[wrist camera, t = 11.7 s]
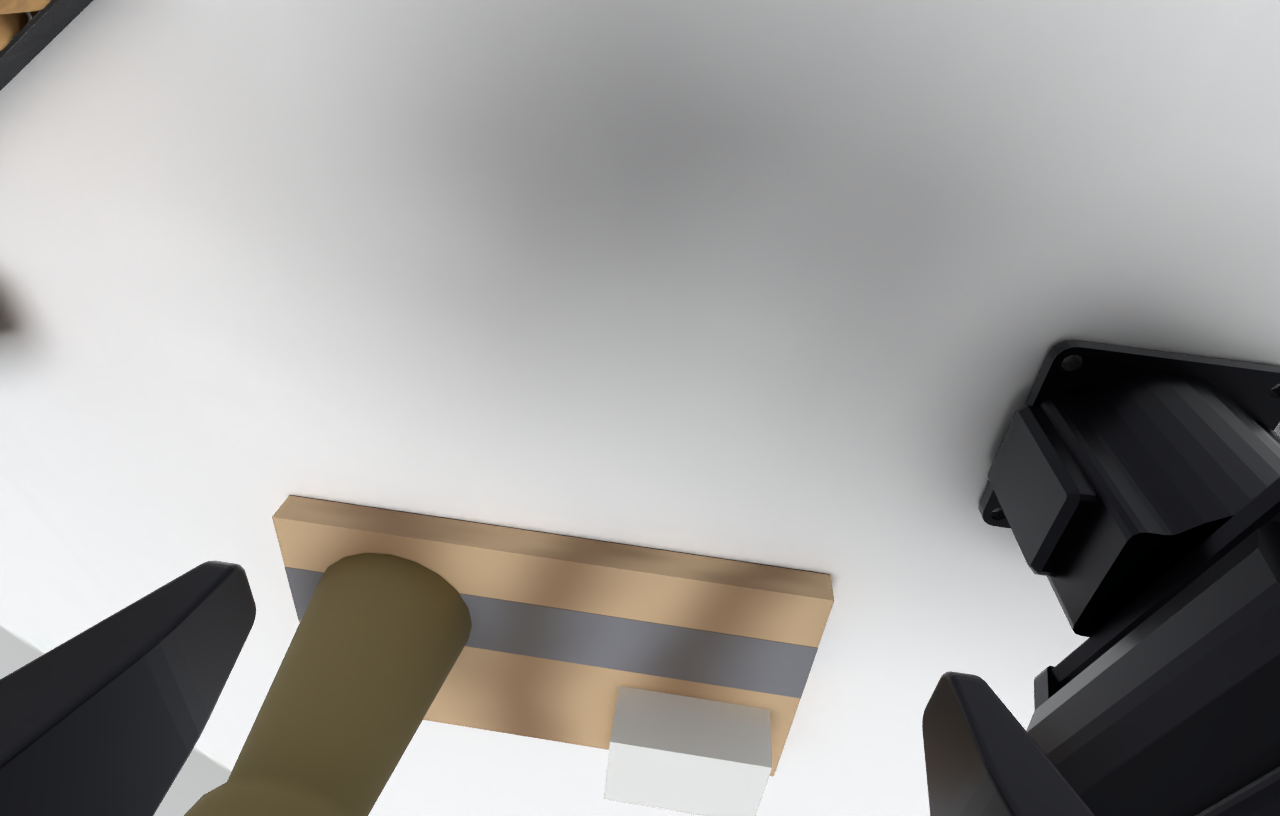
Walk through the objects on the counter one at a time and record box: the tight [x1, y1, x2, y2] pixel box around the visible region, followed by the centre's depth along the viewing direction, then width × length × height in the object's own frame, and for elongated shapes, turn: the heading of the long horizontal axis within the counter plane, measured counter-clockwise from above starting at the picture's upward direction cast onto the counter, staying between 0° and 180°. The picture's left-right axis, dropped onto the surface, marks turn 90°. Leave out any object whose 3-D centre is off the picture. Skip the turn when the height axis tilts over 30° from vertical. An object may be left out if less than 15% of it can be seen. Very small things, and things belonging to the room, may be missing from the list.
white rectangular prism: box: [604, 686, 772, 816], centre depth 29 cm, size 6×4×2 cm, turn 85°
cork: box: [184, 553, 472, 816], centre depth 23 cm, size 6×6×11 cm
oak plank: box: [272, 495, 834, 776], centre depth 29 cm, size 20×11×1 cm, turn 85°
